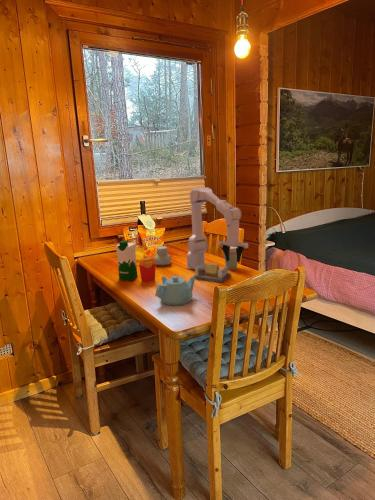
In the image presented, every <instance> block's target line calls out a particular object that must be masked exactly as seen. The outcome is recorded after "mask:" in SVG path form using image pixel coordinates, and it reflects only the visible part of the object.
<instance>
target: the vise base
mask: <svg viewBox="0 0 375 500" xmlns="http://www.w3.org/2000/svg"><path fill="white" fill-rule="evenodd" d="M205 264H206V262H205V263H203V264H201V265H200V266H198V267H196V268H195V269H194V270H195V274H194V275H193V276H192V277H195V280H198V281H199V280H200V281H207V282H214V283H219V284H223V283H225V281H227V280H228V279H229V278H231V277H232V273H230V272H228V274H227V275H226V276H225V277H223V278H218V276H217V277H212V276H205Z"/></svg>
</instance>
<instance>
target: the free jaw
mask: <svg viewBox="0 0 375 500" xmlns="http://www.w3.org/2000/svg"><path fill="white" fill-rule="evenodd" d="M228 273H229V270H228V267H227V266H226V265H224V266H222V267H221V268H219V270H218V278H223V277H225V276H226V275H227V274H228Z"/></svg>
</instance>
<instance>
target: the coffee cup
mask: <svg viewBox="0 0 375 500" xmlns="http://www.w3.org/2000/svg"><path fill="white" fill-rule="evenodd" d="M236 248H238V247H231V246H230V252H229V257H230V258H229V261H226V257H225V254H224V253H223V256H224V263H225V265H224V266H227V267H228V271H235V270H237V267H238V262H237V253H236Z"/></svg>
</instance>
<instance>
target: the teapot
mask: <svg viewBox="0 0 375 500" xmlns="http://www.w3.org/2000/svg"><path fill="white" fill-rule="evenodd" d="M195 280H196V279H195V277H193V276H190V279H189V280H188V281H187V280H186V279H184V278H182V277H179V276H177V275H176V276H175V275H174V276H172V277H171V278H167V277H166V276H163V275H162V276H161V281H162V284H157V287H156V290H155V293H154V296H155V297H157V298H158V299H160V300H161V302H162V303H163V304H165V305H167V306H171V305H172V306H176V307H177V306H183V305H186V304H188V303H189V302H190V301H191V300H192V299H193V289H194V286H195V285H194V284H195V282H196V281H195Z"/></svg>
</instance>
